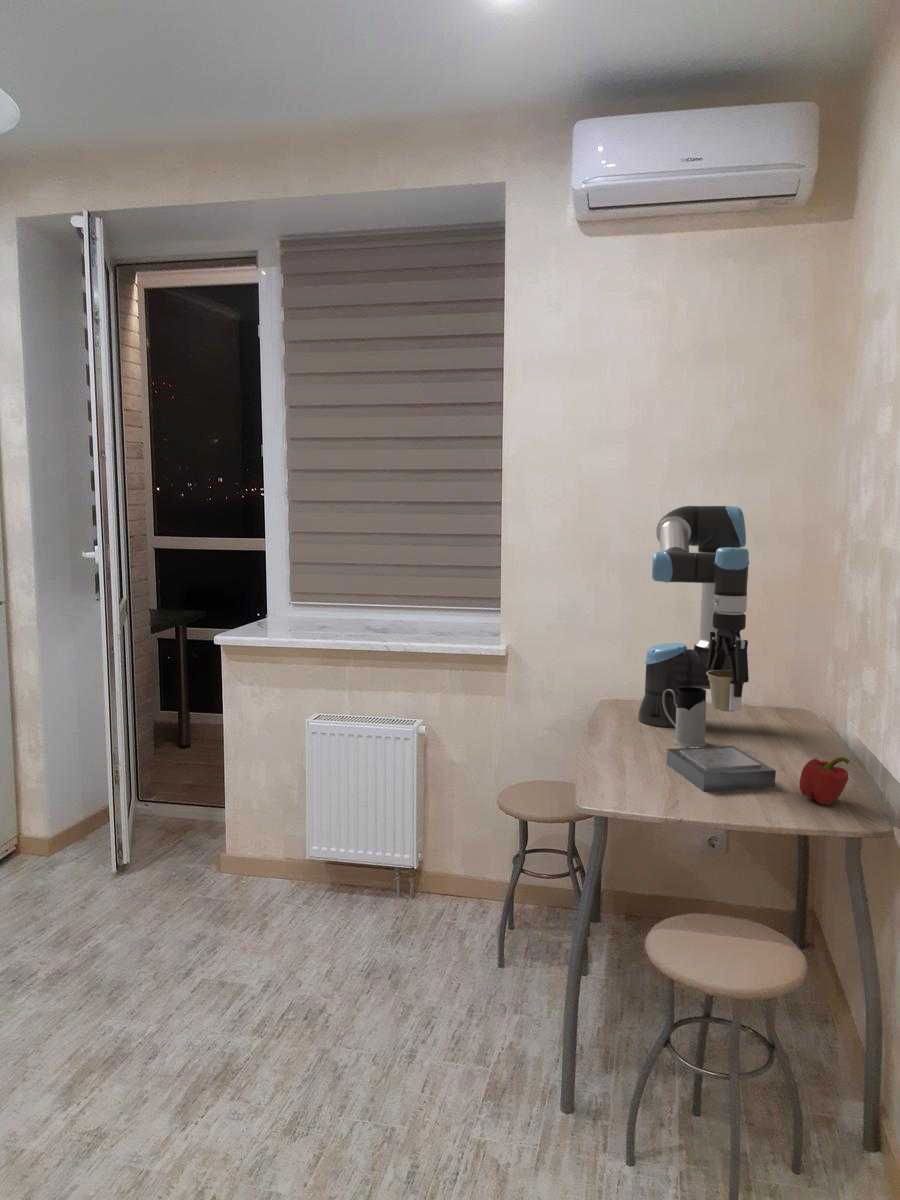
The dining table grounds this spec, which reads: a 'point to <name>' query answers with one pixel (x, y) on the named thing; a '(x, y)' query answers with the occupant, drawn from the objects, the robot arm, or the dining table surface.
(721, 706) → the flower pot
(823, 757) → the dining table surface
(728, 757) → the gray square platform
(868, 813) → the dining table surface
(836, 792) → the vegetable
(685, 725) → the grey pitcher
